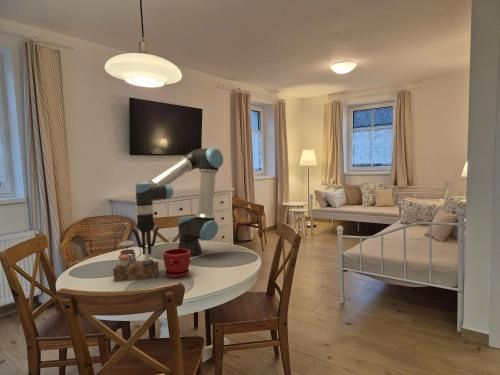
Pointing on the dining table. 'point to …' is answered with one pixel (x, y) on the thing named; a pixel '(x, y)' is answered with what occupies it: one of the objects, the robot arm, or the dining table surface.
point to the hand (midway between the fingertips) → (147, 260)
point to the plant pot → (177, 262)
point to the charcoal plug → (147, 262)
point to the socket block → (135, 271)
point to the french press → (129, 243)
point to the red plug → (124, 259)
